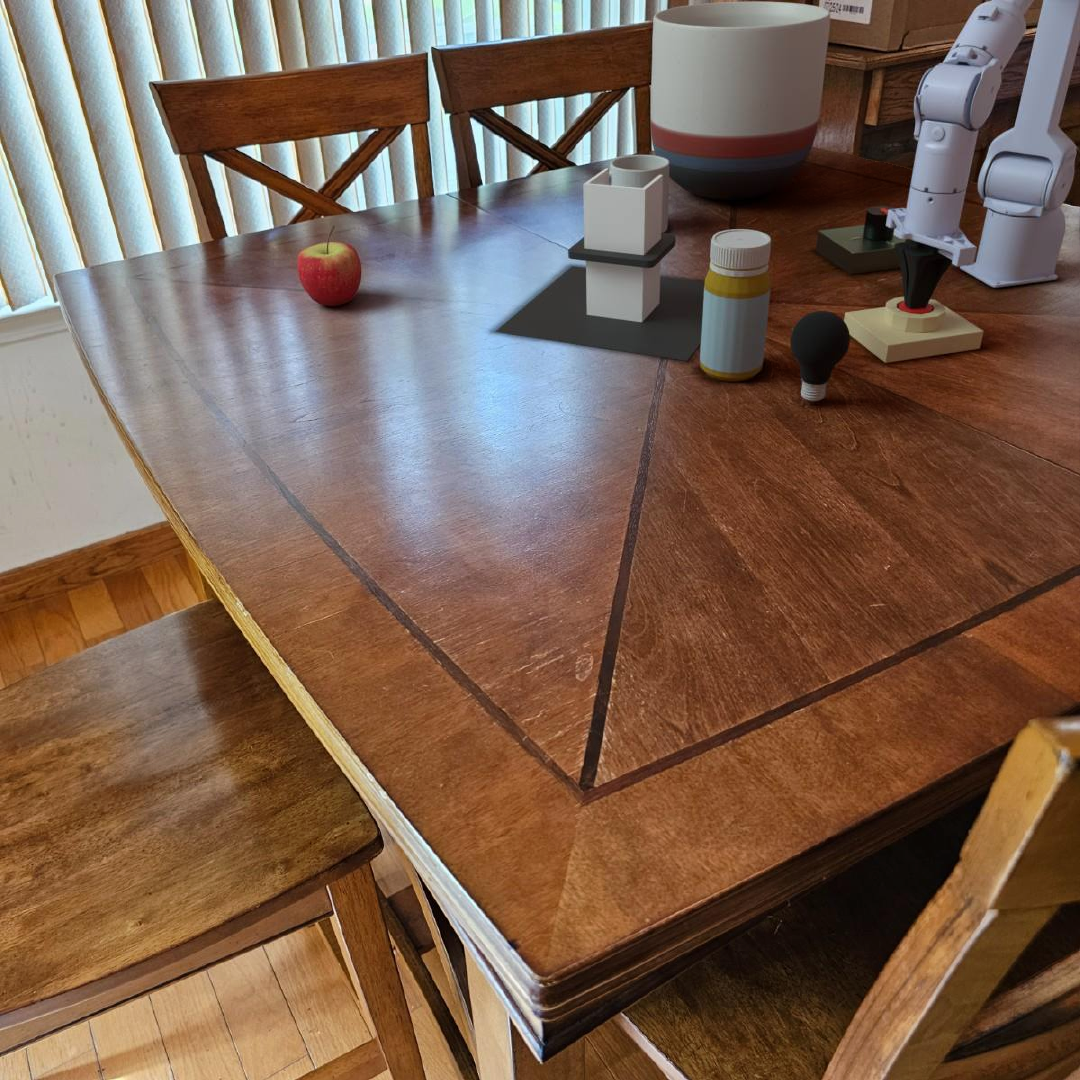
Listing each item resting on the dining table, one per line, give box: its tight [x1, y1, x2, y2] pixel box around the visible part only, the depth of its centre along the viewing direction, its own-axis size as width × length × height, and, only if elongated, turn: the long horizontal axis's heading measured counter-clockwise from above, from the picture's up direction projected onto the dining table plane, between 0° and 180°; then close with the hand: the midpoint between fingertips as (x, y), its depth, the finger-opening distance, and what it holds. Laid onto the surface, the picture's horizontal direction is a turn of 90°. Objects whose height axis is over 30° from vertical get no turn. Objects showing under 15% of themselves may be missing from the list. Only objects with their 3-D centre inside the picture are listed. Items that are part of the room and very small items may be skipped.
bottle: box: [699, 228, 772, 382], centre depth 107 cm, size 7×7×15 cm
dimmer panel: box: [815, 224, 906, 276], centre depth 138 cm, size 13×10×3 cm
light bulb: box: [789, 310, 851, 404], centre depth 102 cm, size 6×6×10 cm
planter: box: [649, 1, 831, 201], centre depth 159 cm, size 27×27×27 cm
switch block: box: [843, 296, 984, 364], centre depth 115 cm, size 12×10×4 cm
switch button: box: [899, 302, 932, 314], centre depth 115 cm, size 4×4×2 cm
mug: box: [609, 154, 670, 233], centre depth 150 cm, size 11×10×10 cm
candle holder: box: [495, 167, 705, 362], centre depth 123 cm, size 25×24×16 cm
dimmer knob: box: [863, 205, 895, 240], centre depth 136 cm, size 4×4×4 cm
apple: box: [296, 225, 362, 307], centre depth 130 cm, size 8×8×10 cm
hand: (915, 306), depth 114 cm, fingers closed, pressing on switch button
